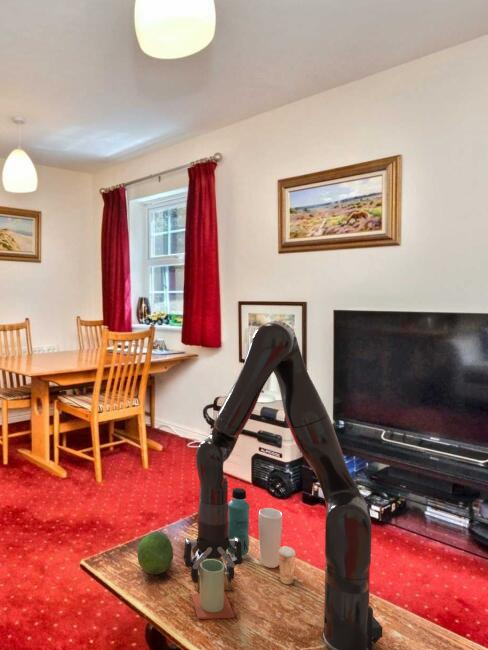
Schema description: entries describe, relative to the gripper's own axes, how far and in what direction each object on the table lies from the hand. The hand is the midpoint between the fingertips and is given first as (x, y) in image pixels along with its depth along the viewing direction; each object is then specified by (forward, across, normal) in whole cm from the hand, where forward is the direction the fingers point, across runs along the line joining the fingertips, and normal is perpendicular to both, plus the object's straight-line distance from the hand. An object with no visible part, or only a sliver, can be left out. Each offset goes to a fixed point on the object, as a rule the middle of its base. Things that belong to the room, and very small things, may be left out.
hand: (212, 580), depth 122 cm
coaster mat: (+7, 0, 0) cm, 7 cm away
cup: (+6, 0, 0) cm, 6 cm away
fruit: (+7, -12, +18) cm, 23 cm away
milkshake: (+7, +23, +9) cm, 26 cm away
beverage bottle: (+7, +13, +23) cm, 27 cm away
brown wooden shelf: (+7, +2, +15) cm, 17 cm away
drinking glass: (+7, +21, +18) cm, 29 cm away
